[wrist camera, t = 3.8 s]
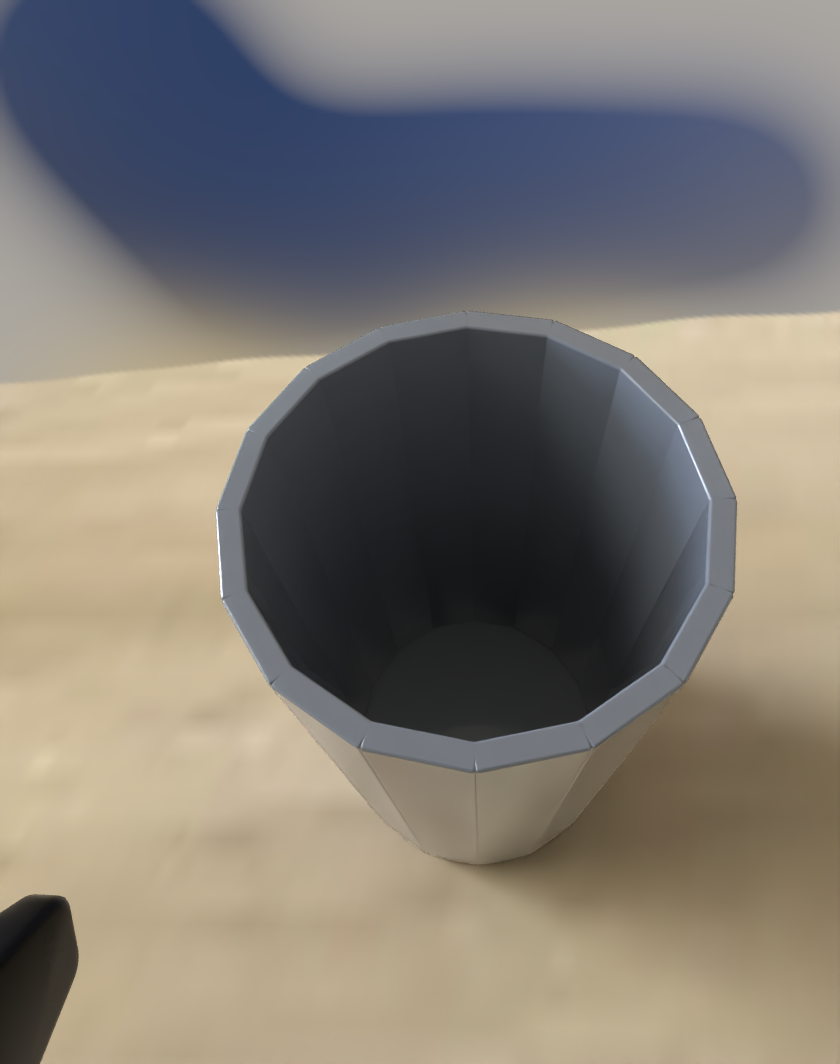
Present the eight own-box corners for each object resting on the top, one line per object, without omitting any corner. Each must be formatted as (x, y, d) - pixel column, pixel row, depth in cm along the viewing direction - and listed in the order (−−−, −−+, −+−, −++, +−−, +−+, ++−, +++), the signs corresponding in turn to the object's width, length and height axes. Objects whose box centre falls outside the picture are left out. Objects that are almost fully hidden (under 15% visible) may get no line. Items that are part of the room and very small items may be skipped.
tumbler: (643, 698, 21) (820, 435, 10) (516, 922, 19) (568, 899, 8) (442, 578, 23) (408, 254, 12) (305, 766, 21) (111, 574, 10)
